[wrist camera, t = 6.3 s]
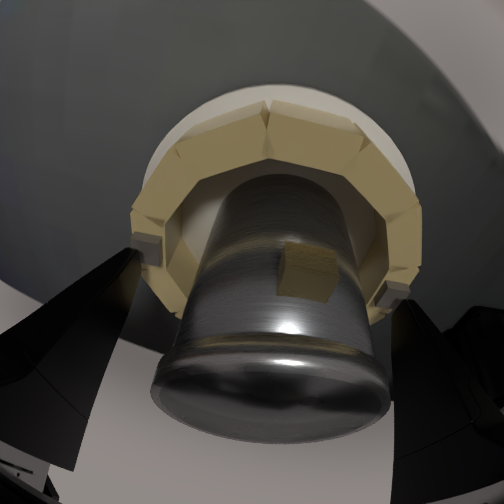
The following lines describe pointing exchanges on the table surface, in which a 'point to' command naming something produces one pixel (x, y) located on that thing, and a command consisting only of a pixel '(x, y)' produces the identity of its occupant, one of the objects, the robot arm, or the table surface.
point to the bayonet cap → (275, 324)
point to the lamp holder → (278, 162)
